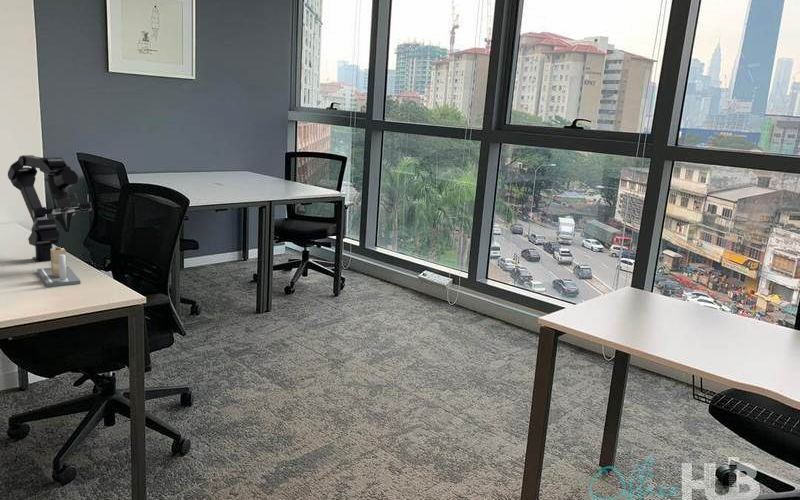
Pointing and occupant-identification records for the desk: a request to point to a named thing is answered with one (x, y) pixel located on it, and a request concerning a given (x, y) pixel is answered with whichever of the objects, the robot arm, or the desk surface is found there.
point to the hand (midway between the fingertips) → (67, 232)
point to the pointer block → (56, 260)
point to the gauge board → (54, 279)
